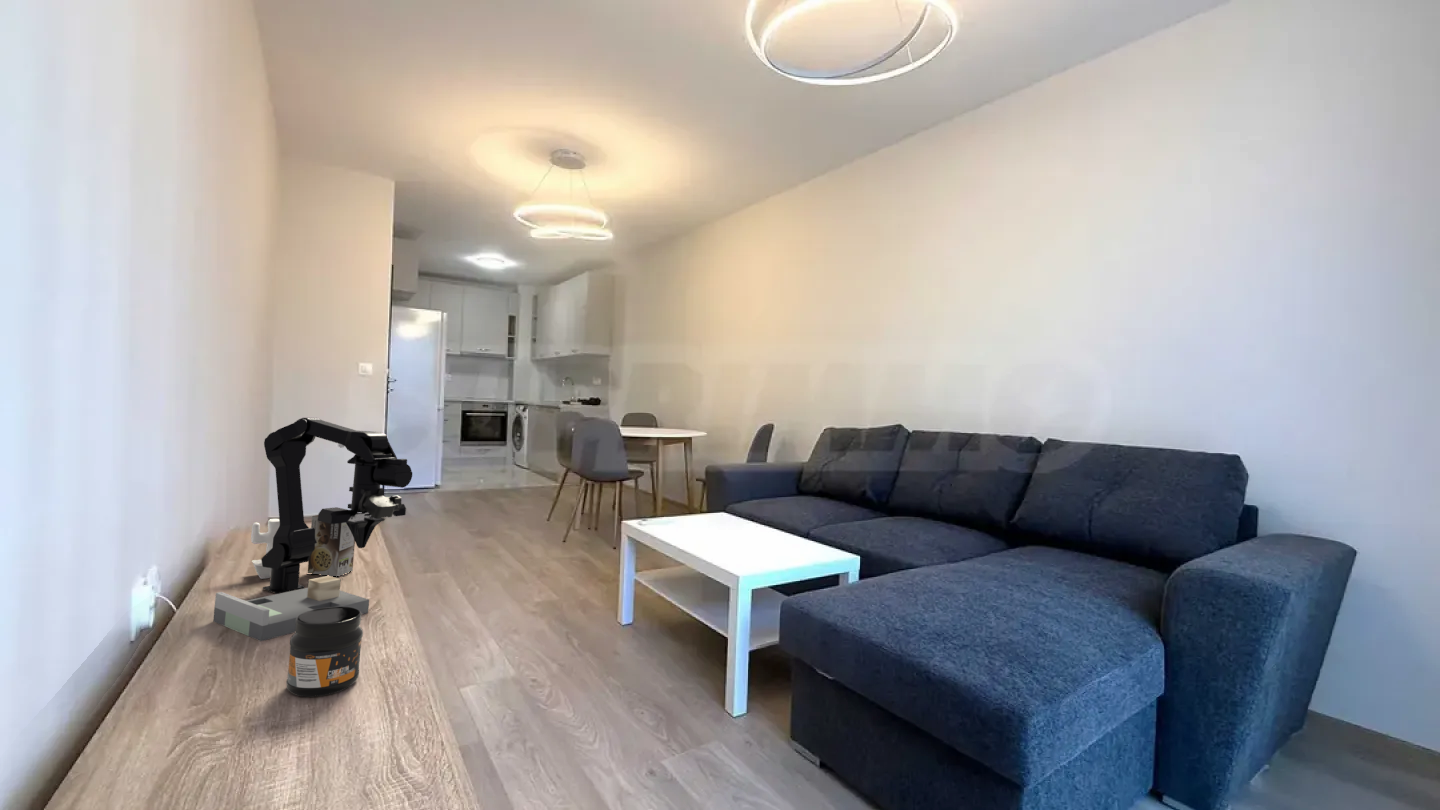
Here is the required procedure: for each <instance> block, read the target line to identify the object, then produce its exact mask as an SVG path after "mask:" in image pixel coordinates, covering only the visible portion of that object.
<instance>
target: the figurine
mask: <svg viewBox="0 0 1440 810" xmlns="http://www.w3.org/2000/svg"><path fill="white" fill-rule="evenodd" d="M279 526H280V521H279V518H270V519H268V521H267V531H266V532H261V531H260V530H261V529H260V528H261V524H260V523H259V522H256V521H255V522H253V523H252V525H251V531H250V532H251V534H250V541H251V543H252V544H254V545H257V544H260V545H262V544H266V548H265V555H266V554H267V553H268V552H269V551H270V550H271V549H272V548H273V537H274V535H275V534H276V532H277V530H278V528H279ZM251 562H252V565H253V566H254V569H255V572H256V575H257V576H258V577H259V579H261V580H262V579H263V580H264V579H270V577H271V568H267V567H263V566H262V560H261V559H254V560H251Z"/></svg>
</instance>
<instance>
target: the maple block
mask: <svg viewBox="0 0 1440 810" xmlns="http://www.w3.org/2000/svg"><path fill="white" fill-rule="evenodd" d="M307 588H308V594H307V597H308V598H311V599H314V600H317V601H322V600H326V599H331V598H335V597H339V594H340V590H341V578H339V577H332V576H320V577H316V578H311V579H308V585H307Z"/></svg>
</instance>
